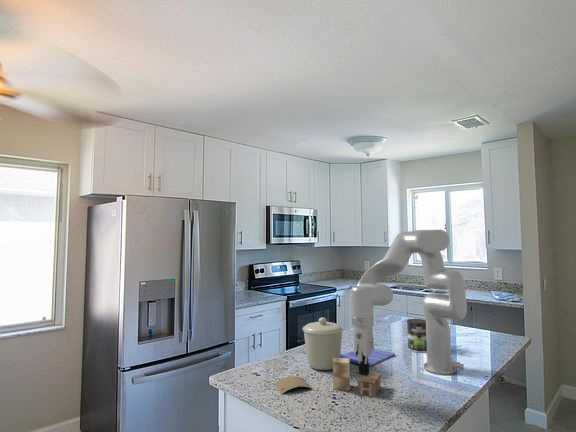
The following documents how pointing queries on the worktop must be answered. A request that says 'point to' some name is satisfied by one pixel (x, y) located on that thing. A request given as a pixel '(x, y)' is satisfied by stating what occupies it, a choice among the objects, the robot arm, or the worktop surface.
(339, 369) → the oak block
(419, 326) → the coffee can
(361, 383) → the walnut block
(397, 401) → the worktop surface
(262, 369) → the worktop surface
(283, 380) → the clay tablet
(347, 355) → the dish towel
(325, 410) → the worktop surface
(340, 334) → the canister
